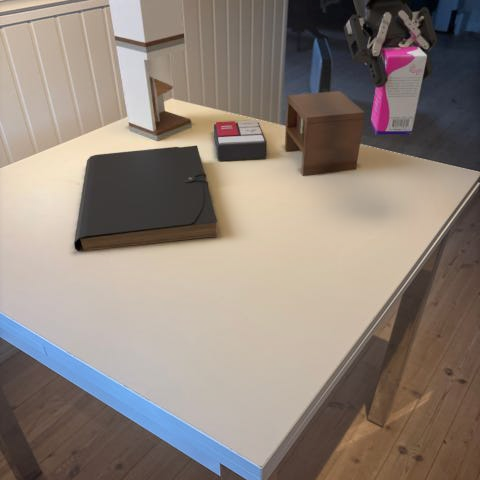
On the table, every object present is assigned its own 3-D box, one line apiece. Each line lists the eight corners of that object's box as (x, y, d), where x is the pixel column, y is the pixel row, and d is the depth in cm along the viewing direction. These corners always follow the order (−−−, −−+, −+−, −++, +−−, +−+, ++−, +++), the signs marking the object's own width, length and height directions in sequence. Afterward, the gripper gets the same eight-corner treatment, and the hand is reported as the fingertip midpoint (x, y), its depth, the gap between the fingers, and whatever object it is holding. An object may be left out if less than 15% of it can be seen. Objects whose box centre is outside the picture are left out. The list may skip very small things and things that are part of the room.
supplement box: (404, 121, 82) (419, 45, 74) (411, 135, 78) (429, 55, 70) (369, 121, 82) (381, 45, 75) (374, 135, 78) (388, 56, 70)
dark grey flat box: (258, 118, 118) (267, 139, 106) (258, 136, 121) (266, 158, 109) (213, 120, 117) (216, 141, 106) (214, 138, 120) (217, 161, 108)
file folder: (218, 219, 82) (71, 236, 79) (219, 240, 84) (77, 257, 82) (197, 143, 106) (85, 154, 103) (199, 161, 109) (89, 172, 106)
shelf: (333, 144, 115) (339, 90, 107) (356, 169, 105) (365, 112, 97) (284, 149, 113) (287, 95, 105) (302, 175, 103) (307, 117, 95)
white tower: (157, 140, 118) (135, -38, 95) (129, 130, 123) (102, -41, 100) (191, 127, 124) (178, -43, 101) (163, 118, 130) (144, -46, 106)
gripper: (345, -38, 68) (378, 73, 68) (428, -45, 72) (460, 60, 72) (322, 0, 76) (352, 101, 75) (399, -7, 80) (428, 88, 79)
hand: (404, 81), depth 74 cm, fingers closed on supplement box, 7 cm apart
